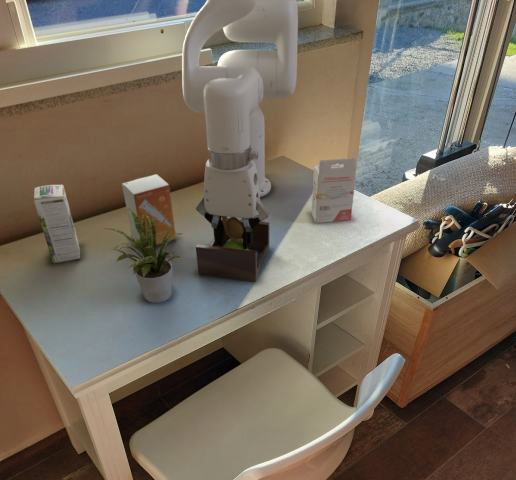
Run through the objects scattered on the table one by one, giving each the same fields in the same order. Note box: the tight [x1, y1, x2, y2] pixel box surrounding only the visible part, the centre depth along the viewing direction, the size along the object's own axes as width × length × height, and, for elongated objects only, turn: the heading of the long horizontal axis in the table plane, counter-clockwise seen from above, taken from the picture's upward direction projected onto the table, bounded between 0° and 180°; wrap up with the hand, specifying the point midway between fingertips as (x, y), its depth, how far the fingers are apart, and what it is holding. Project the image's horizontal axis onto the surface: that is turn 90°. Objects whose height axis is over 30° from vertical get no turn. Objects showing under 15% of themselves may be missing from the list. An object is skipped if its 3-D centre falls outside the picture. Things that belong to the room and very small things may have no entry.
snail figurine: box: [222, 216, 248, 250], centre depth 103 cm, size 5×6×12 cm
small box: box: [121, 173, 177, 246], centre depth 110 cm, size 8×6×13 cm
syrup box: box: [33, 184, 81, 264], centre depth 105 cm, size 6×6×14 cm
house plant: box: [100, 209, 184, 304], centre depth 94 cm, size 14×14×16 cm
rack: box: [195, 217, 270, 283], centre depth 105 cm, size 12×12×6 cm
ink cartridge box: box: [311, 157, 357, 224], centre depth 116 cm, size 9×5×15 cm, turn 97°
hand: (233, 243), depth 104 cm, fingers closed on snail figurine, 4 cm apart
